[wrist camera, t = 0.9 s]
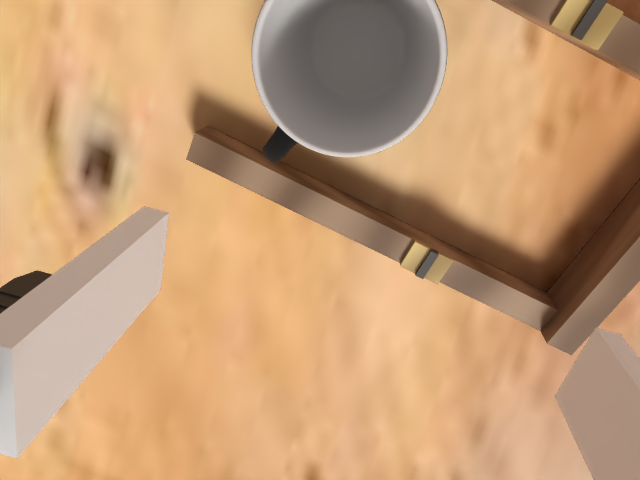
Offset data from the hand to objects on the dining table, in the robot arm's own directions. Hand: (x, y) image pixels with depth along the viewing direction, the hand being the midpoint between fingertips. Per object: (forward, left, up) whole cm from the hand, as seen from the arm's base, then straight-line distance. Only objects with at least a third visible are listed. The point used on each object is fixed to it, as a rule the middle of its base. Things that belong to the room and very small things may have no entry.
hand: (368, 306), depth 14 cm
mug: (-4, +4, -21) cm, 22 cm away
